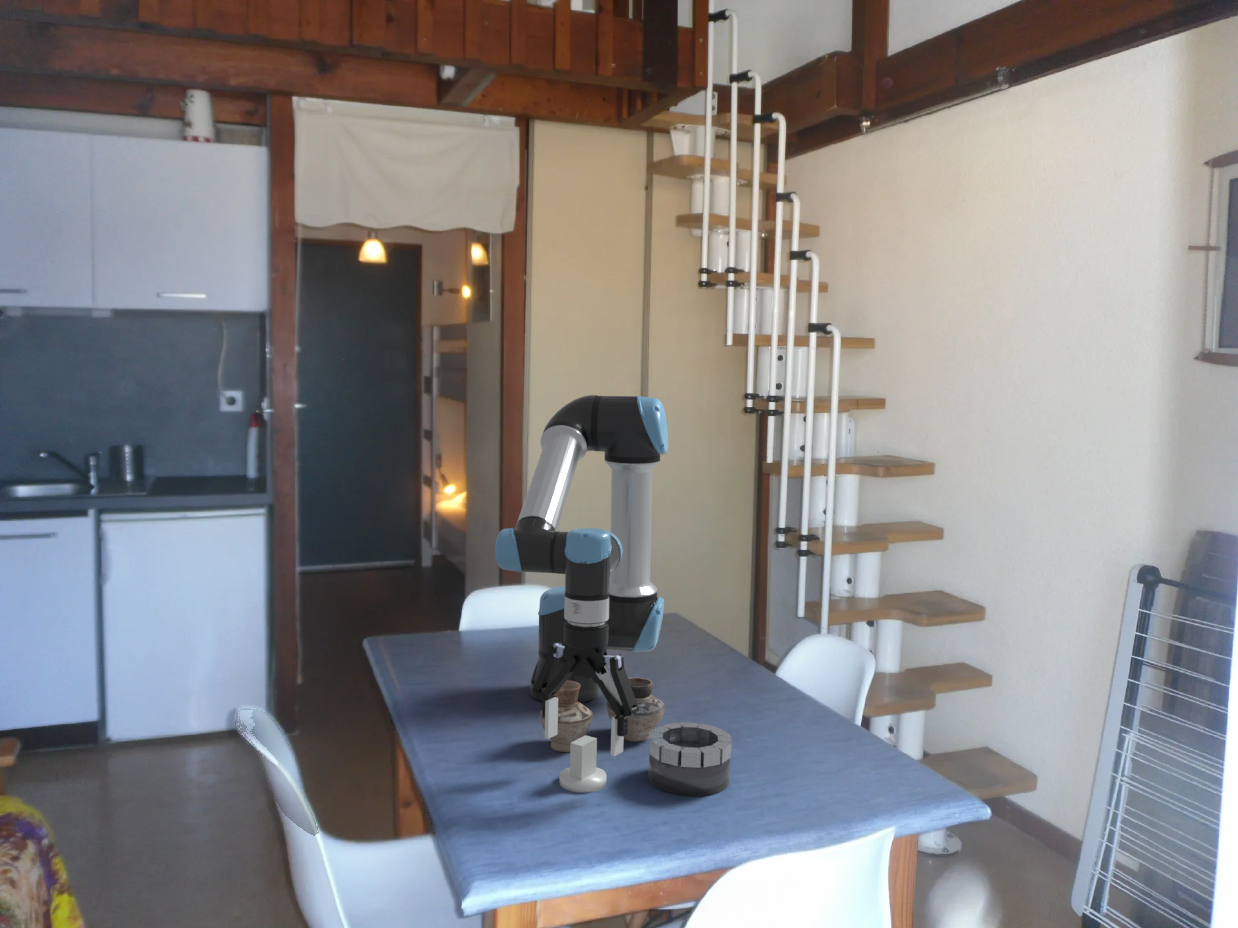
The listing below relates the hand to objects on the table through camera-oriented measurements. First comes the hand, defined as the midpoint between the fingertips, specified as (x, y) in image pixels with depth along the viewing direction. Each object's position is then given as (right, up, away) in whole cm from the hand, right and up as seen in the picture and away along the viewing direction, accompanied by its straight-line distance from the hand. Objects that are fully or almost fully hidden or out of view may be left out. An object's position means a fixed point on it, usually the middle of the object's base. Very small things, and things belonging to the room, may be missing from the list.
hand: (583, 744), depth 170 cm
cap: (0, -7, +1) cm, 7 cm away
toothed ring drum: (+18, -7, +4) cm, 20 cm away
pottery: (+3, -5, +20) cm, 21 cm away
